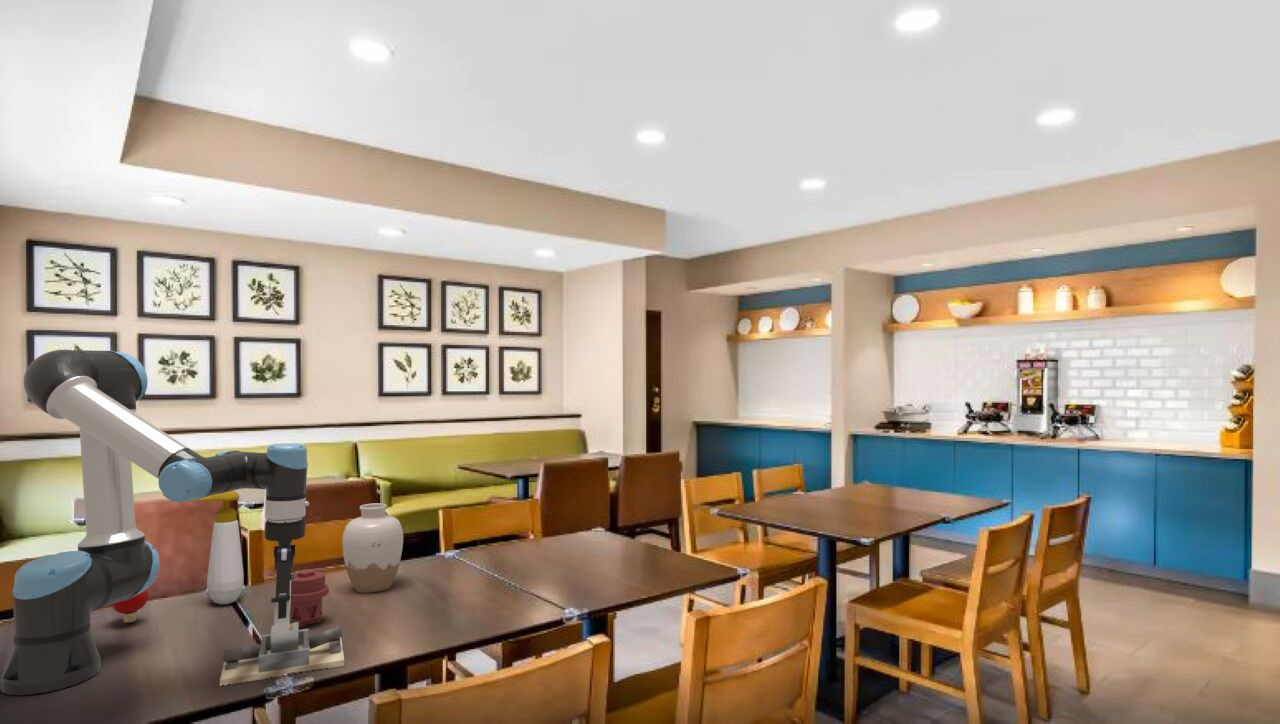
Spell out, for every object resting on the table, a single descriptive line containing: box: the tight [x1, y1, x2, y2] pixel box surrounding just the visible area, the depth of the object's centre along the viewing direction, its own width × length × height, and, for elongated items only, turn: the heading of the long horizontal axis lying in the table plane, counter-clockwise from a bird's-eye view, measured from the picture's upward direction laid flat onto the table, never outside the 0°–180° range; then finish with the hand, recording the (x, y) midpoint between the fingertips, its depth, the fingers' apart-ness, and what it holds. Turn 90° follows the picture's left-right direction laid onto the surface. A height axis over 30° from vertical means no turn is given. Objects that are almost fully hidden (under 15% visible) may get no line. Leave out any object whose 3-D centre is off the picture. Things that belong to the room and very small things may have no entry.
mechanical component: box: [290, 568, 330, 629], centre depth 171 cm, size 12×10×10 cm
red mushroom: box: [112, 589, 149, 625], centre depth 171 cm, size 9×7×10 cm
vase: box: [342, 502, 404, 594], centre depth 199 cm, size 16×16×23 cm
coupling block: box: [270, 621, 299, 654], centre depth 148 cm, size 5×5×7 cm
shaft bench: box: [219, 625, 345, 687], centre depth 147 cm, size 22×14×6 cm, turn 115°
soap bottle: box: [199, 490, 245, 606], centre depth 187 cm, size 13×10×29 cm
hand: (282, 622), depth 148 cm, fingers open, 13 cm apart
